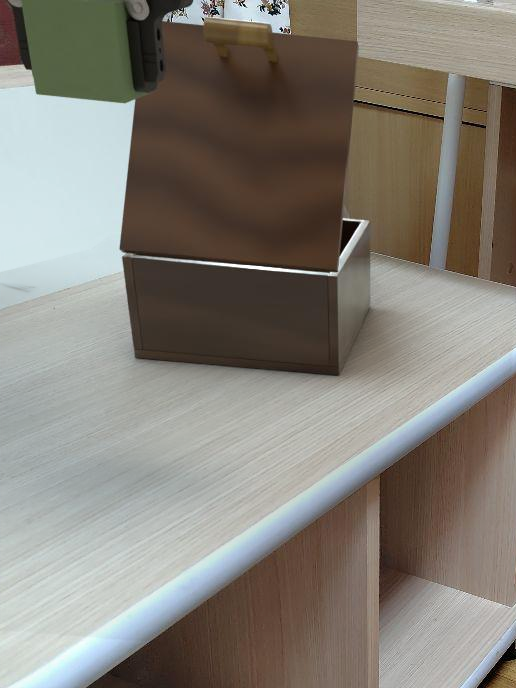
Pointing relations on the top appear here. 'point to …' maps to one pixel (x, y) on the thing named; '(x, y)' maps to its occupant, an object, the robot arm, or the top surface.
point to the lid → (242, 148)
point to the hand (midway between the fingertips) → (96, 84)
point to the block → (80, 49)
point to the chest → (250, 309)
